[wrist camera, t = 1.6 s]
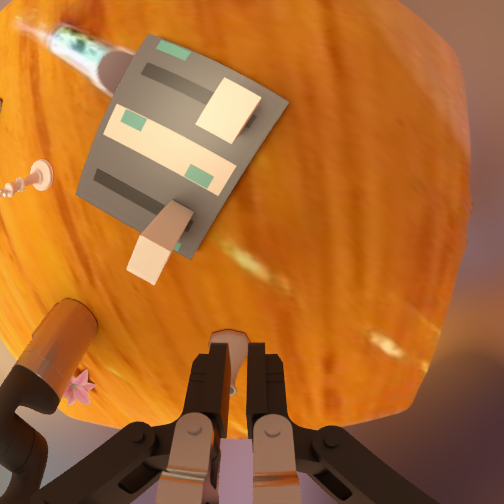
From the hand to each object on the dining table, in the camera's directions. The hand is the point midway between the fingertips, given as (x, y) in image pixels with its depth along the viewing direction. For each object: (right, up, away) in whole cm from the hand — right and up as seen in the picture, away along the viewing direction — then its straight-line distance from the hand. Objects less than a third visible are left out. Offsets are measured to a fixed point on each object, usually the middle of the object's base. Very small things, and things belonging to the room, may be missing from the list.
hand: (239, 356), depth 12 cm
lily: (-41, -26, +42) cm, 64 cm away
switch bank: (-9, +18, +19) cm, 27 cm away
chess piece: (-31, +16, +20) cm, 40 cm away
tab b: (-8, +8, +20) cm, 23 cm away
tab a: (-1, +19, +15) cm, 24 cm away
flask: (-3, -11, +34) cm, 36 cm away
